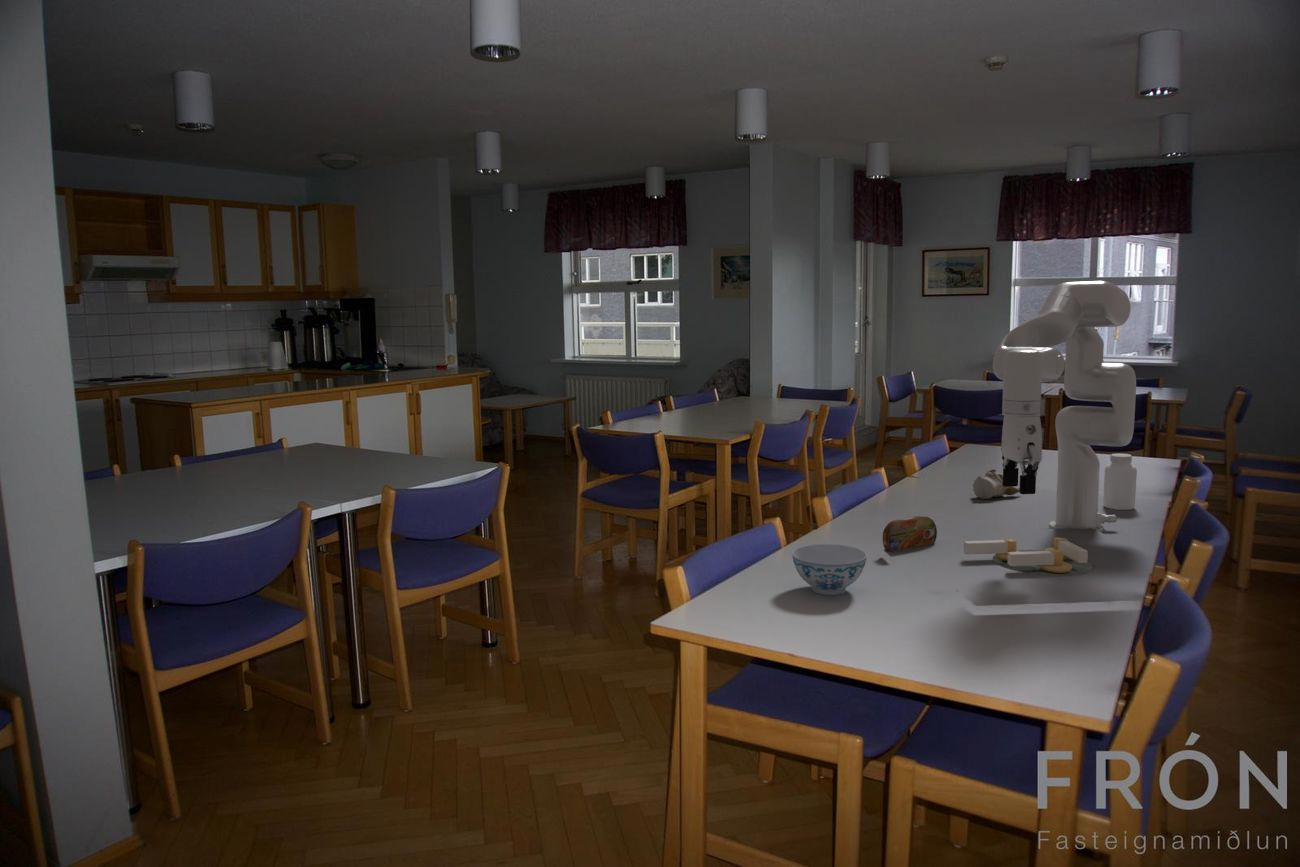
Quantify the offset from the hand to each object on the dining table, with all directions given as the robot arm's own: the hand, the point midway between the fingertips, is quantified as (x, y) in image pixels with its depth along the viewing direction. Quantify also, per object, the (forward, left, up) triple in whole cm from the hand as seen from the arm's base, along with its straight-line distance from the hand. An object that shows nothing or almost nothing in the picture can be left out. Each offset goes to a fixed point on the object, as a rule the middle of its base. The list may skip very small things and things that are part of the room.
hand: (1018, 489), depth 192 cm
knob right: (-12, -1, -16) cm, 20 cm away
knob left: (+3, -4, -16) cm, 17 cm away
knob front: (-3, +6, -16) cm, 17 cm away
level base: (-6, -1, -18) cm, 19 cm away
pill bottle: (-54, -56, -18) cm, 80 cm away
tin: (+18, -17, -18) cm, 31 cm away
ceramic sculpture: (-26, -75, -18) cm, 82 cm away
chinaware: (+43, +9, -18) cm, 47 cm away
